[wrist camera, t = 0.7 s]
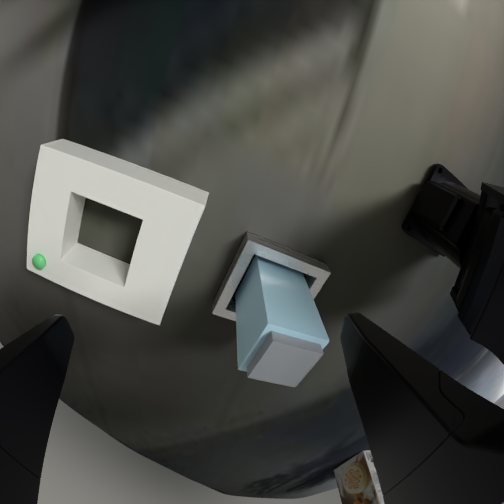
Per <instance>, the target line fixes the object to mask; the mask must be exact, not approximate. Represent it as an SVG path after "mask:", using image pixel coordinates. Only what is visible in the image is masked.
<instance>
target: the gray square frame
mask: <svg viewBox="0 0 504 504" xmlns="http://www.w3.org/2000/svg"><path fill="white" fill-rule="evenodd" d="M254 254H256V255H258V256H261V257H263V258H266V259H269V260H271V261H274V262H276V263H279V264H282V265H284V266H287V267H289V268H292V269H295V270H297V271H300V272H302V273H305V274H308V276H307V278H306V279H305V280H306V282H307V285H308V287H309V290H310V292H311V295H312V297H313V300H314V298H315V297H316V295H317V294H318V292H319V291H320V289H321V288H322V286H323V285H324V283H325V281H326V280H327V278H328V277H329V275H330V274H331V272H330V270H329V269H328V267H327V265H326V263H323V262H321V261H318V260H316V259H314V258H311V257H309V256H306V255H304V254H302V253H299V252H297V251H294V250H292V249H289V248H287V247H284V246H282V245H280V244H277V243H275V242H272V241H270V240H267V239H265V238H262V237H260V236H257V235H255V234H252V233H250V232H247V233H246V235H245V237H244V239H243V241H242V243H241V245H240V247H239V249H238V251H237V253H236V255H235V257H234V259H233V262H232V264H231V266H230V268H229V270H228V272H227V274H226V276H225V278H224V280H223V282H222V284H221V286H220V289H219V291H218V293H217V295H216V297H215V299H214V301H213V307H212V314H215V315H218V316H221V317H224V318H227V319H230V320H233V321H236V303H235V301H232V300H230V299H231V298H232V296H233V294H234V292H235V290H236V288H237V286H238V284H239V282H240V280H241V278H242V276H243V274H244V272H245V270H246V268H247V266H248V265H249V263H250V261H251V259H252V257H253V255H254Z"/></svg>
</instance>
